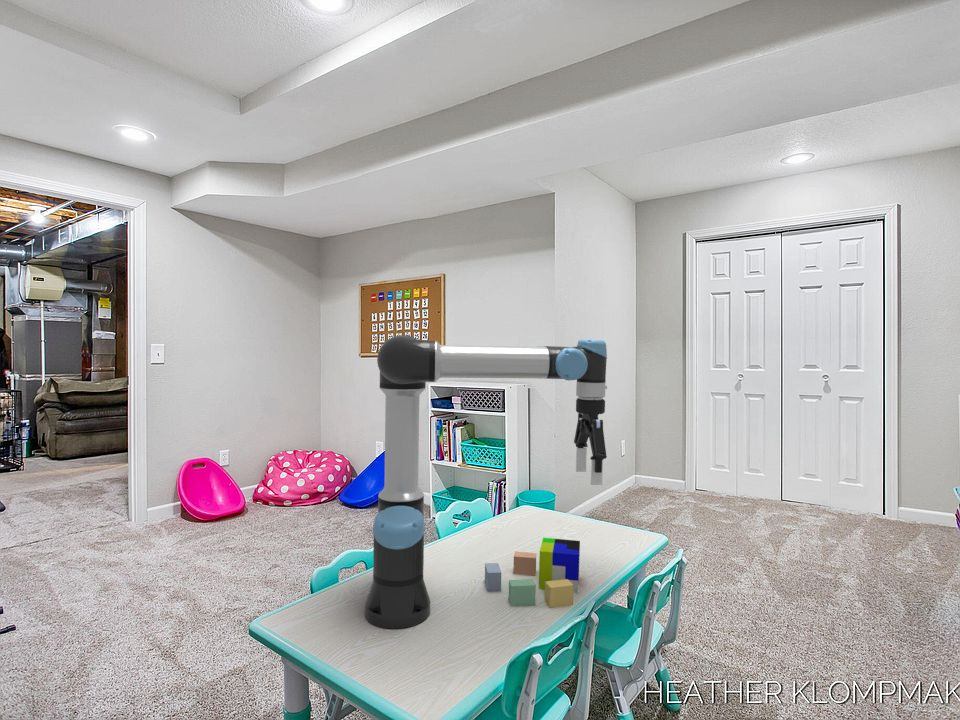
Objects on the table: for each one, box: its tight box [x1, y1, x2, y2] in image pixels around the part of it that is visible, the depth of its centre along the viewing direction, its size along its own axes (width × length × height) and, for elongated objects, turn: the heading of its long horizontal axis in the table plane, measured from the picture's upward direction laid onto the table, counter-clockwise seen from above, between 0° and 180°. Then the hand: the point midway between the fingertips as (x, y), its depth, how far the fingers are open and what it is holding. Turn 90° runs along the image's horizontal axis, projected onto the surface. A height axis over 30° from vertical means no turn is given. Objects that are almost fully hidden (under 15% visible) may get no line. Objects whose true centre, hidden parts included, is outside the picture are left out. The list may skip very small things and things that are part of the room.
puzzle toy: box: [538, 537, 581, 594], centre depth 147 cm, size 10×10×10 cm
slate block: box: [484, 562, 502, 593], centre depth 144 cm, size 6×4×5 cm, turn 6°
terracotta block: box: [512, 551, 537, 577], centre depth 154 cm, size 6×4×5 cm, turn 81°
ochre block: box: [544, 579, 574, 608], centre depth 136 cm, size 6×4×5 cm, turn 106°
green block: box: [508, 578, 537, 607], centre depth 136 cm, size 6×4×5 cm, turn 96°
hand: (588, 477), depth 147 cm, fingers open, 13 cm apart
